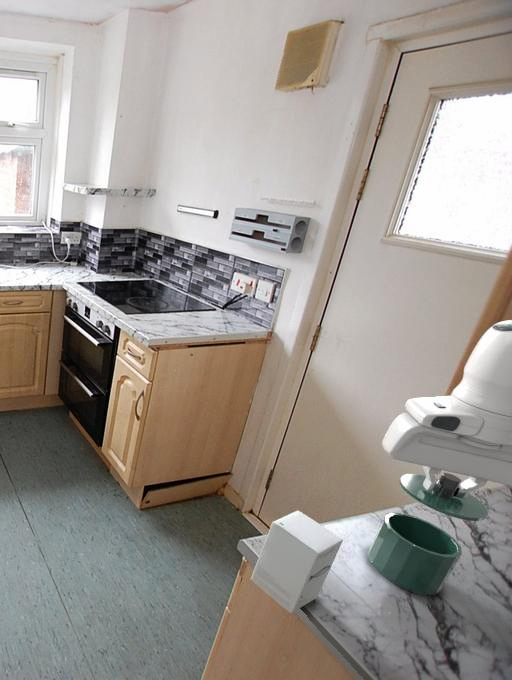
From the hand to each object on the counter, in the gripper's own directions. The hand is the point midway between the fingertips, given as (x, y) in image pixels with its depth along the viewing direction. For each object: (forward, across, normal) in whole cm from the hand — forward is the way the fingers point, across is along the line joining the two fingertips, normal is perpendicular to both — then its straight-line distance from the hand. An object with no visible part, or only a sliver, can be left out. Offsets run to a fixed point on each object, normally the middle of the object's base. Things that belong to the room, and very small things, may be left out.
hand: (443, 492), depth 76 cm
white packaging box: (+18, +22, +14) cm, 31 cm away
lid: (+1, 0, 0) cm, 1 cm away
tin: (+17, 0, 0) cm, 17 cm away
